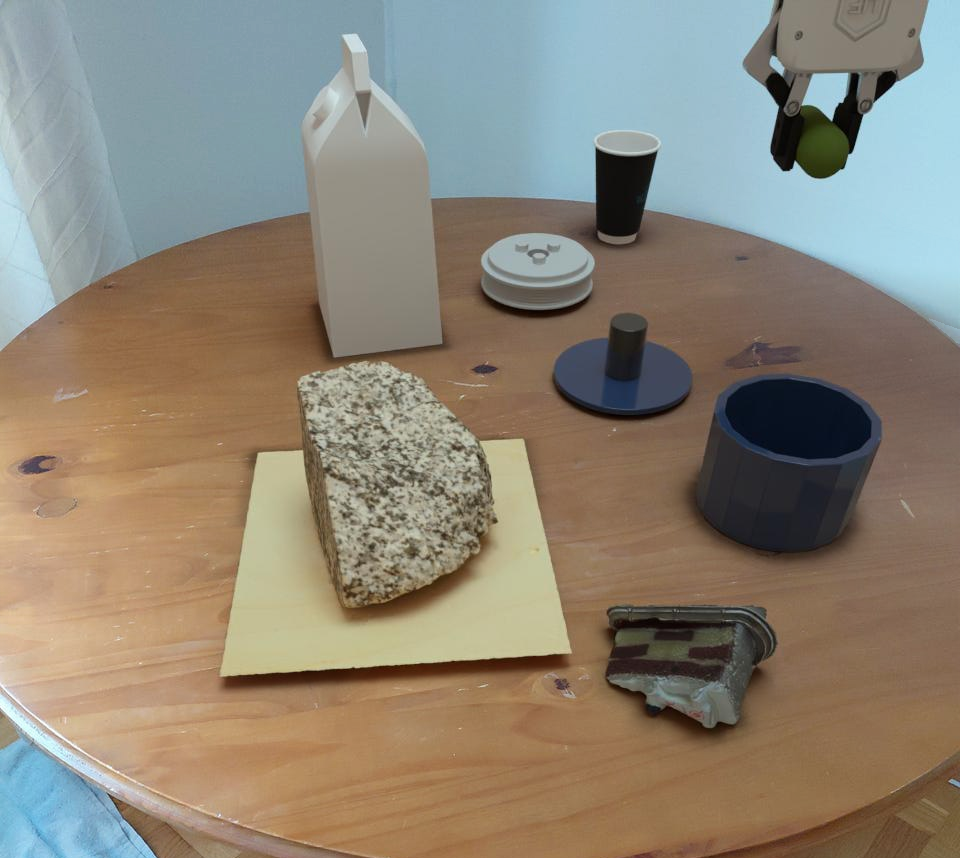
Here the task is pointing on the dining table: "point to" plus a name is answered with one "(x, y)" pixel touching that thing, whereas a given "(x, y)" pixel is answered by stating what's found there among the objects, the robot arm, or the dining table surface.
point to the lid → (537, 271)
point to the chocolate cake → (689, 656)
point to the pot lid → (623, 371)
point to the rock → (389, 538)
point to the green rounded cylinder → (820, 145)
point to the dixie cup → (622, 182)
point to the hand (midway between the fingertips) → (808, 162)
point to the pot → (786, 461)
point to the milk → (370, 215)
